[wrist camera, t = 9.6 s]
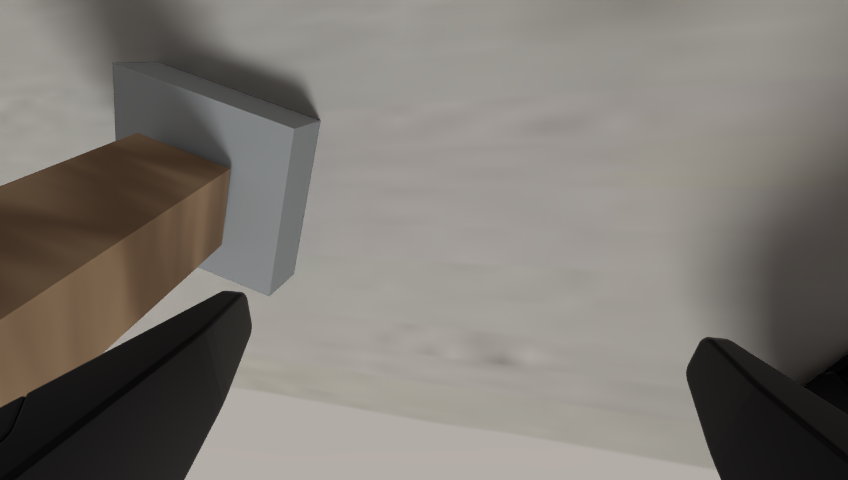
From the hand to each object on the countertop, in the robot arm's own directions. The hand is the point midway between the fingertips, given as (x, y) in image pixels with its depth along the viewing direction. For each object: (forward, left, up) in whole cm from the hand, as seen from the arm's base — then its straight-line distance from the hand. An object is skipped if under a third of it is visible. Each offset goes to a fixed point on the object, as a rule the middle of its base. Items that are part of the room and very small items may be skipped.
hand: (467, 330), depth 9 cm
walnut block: (+13, +8, -9) cm, 18 cm away
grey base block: (+13, +8, -13) cm, 19 cm away
